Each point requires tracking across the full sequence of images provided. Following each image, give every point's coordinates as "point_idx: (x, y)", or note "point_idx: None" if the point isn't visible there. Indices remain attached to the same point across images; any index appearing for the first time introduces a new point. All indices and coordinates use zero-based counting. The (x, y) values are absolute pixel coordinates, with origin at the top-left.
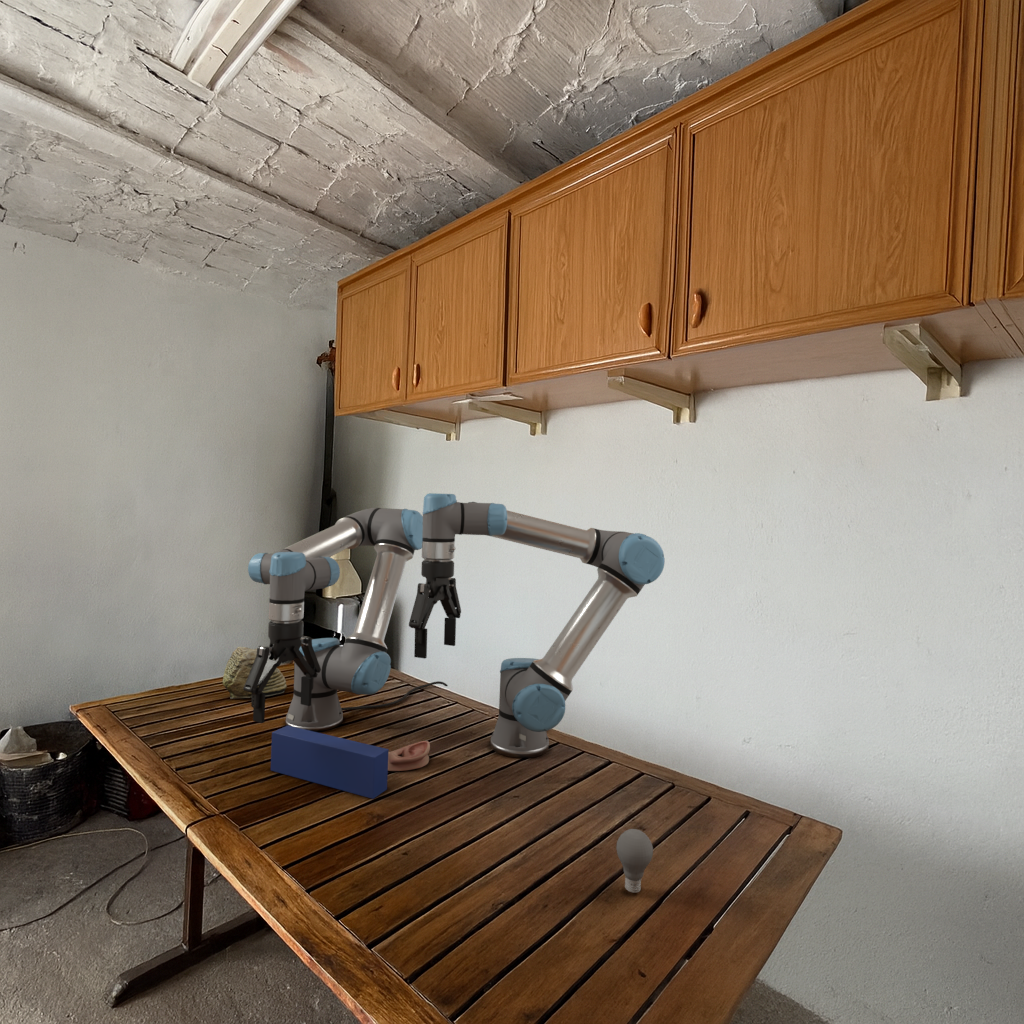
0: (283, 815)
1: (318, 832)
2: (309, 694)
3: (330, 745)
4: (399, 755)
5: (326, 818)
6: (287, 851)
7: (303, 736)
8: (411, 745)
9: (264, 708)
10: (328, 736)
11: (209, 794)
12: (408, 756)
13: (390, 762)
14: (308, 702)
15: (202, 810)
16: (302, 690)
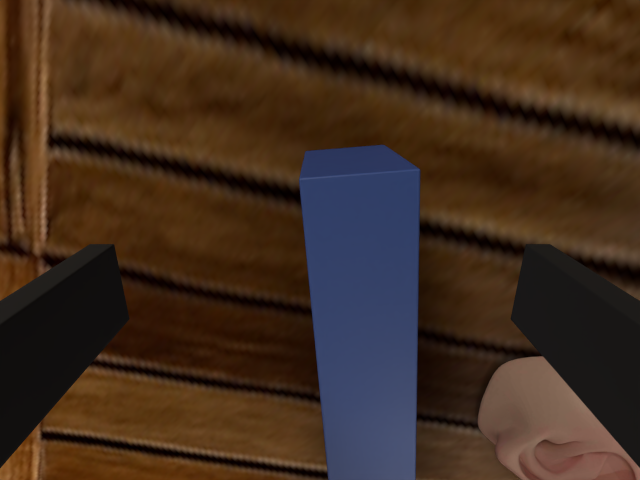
0: (152, 381)
1: (159, 473)
2: (563, 374)
3: (335, 462)
4: None
5: (208, 452)
6: (75, 475)
7: (345, 334)
8: (610, 451)
9: (70, 382)
10: (402, 407)
11: (69, 131)
12: (550, 458)
13: (499, 436)
14: (524, 330)
15: (10, 204)
16: (594, 316)
